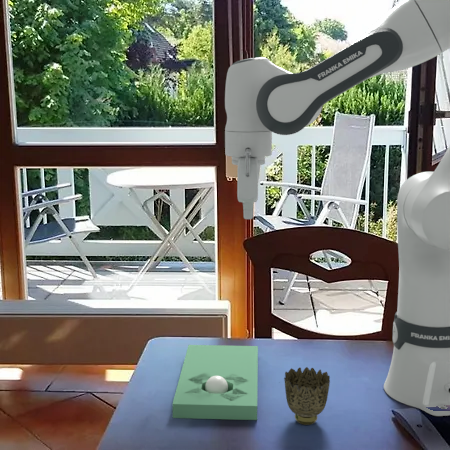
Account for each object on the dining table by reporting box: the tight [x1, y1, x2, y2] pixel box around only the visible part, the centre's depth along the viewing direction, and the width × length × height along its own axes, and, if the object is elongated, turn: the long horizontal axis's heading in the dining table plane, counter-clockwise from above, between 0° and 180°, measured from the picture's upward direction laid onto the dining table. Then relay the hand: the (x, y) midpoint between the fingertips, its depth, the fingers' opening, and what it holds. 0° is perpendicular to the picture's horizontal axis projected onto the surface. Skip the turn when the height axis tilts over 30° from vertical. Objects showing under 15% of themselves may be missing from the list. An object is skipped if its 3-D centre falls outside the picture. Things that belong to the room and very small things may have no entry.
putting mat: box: [171, 344, 259, 421], centre depth 125 cm, size 14×26×2 cm, turn 177°
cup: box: [283, 366, 331, 426], centre depth 111 cm, size 8×7×8 cm
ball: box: [205, 376, 228, 394], centre depth 120 cm, size 4×4×4 cm
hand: (248, 217), depth 132 cm, fingers closed
